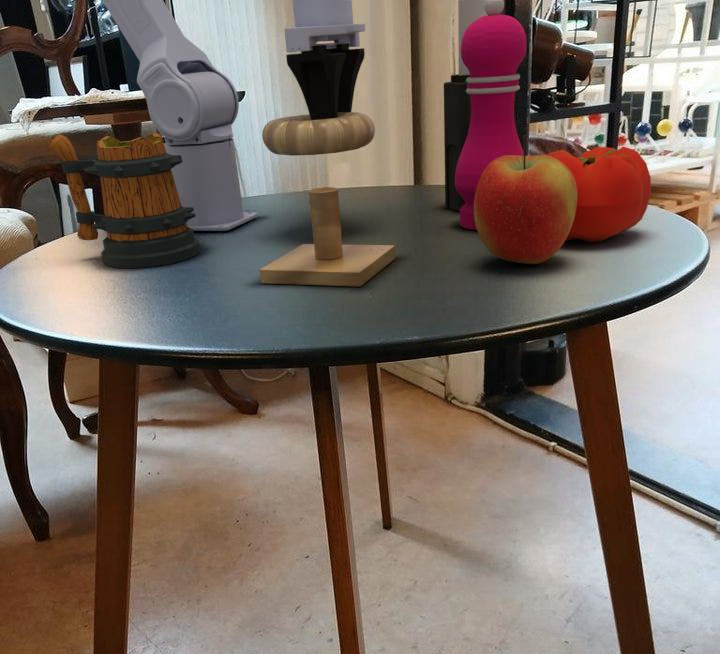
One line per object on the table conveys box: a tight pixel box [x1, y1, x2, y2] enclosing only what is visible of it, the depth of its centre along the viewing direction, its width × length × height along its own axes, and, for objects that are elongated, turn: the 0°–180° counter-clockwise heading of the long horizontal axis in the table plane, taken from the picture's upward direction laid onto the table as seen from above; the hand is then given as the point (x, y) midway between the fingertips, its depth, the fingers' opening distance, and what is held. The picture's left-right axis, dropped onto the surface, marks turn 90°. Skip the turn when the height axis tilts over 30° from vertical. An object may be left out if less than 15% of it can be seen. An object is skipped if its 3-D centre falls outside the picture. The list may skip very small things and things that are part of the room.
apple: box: [474, 134, 577, 265], centre depth 62 cm, size 8×8×10 cm
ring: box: [261, 111, 376, 157], centre depth 76 cm, size 11×11×3 cm
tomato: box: [546, 146, 652, 243], centre depth 70 cm, size 11×11×8 cm
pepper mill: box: [455, 0, 528, 231], centre depth 74 cm, size 7×7×20 cm
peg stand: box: [259, 186, 396, 288], centre depth 65 cm, size 9×9×7 cm
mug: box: [48, 132, 201, 269], centre depth 74 cm, size 13×10×12 cm
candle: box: [443, 0, 487, 213], centre depth 81 cm, size 5×5×25 cm
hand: (332, 129), depth 80 cm, fingers closed on ring, 3 cm apart
